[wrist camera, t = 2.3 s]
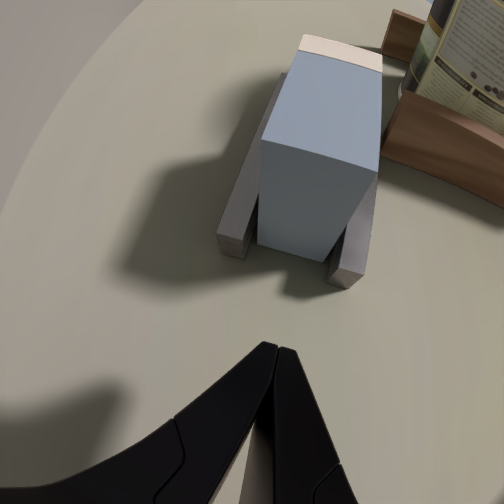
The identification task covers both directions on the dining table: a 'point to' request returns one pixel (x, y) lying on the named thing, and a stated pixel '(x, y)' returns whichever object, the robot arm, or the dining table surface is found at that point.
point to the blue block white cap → (319, 147)
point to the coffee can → (462, 60)
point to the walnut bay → (439, 129)
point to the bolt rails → (246, 213)
